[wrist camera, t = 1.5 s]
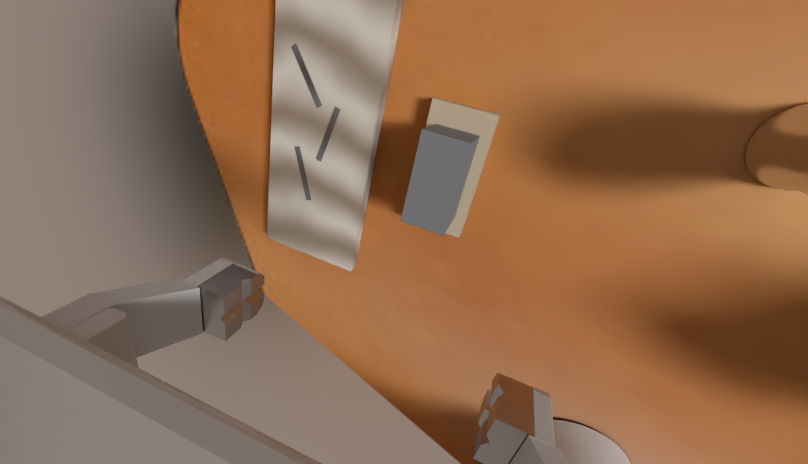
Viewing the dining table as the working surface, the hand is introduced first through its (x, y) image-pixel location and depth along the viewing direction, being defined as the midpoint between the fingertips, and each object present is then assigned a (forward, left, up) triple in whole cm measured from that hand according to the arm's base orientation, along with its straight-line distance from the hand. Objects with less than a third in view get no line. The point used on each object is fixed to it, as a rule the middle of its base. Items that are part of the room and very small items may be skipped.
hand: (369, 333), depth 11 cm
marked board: (0, +17, -25) cm, 30 cm away
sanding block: (0, +3, -25) cm, 25 cm away
